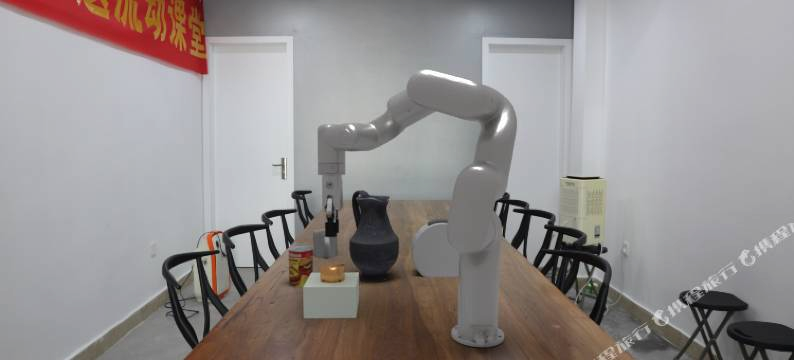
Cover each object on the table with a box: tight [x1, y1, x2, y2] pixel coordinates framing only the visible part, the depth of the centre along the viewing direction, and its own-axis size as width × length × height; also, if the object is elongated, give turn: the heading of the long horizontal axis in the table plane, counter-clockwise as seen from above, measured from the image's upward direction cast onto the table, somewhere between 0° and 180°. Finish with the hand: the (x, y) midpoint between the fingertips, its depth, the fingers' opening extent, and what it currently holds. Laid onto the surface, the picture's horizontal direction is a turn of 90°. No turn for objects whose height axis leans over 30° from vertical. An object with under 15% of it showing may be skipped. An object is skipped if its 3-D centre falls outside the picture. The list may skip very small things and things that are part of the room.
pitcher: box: [348, 189, 400, 282], centre depth 163 cm, size 17×21×30 cm
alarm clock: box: [410, 218, 460, 278], centre depth 167 cm, size 21×8×20 cm, turn 92°
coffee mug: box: [312, 228, 338, 259], centre depth 194 cm, size 13×10×10 cm
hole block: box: [302, 271, 360, 319], centre depth 131 cm, size 14×14×8 cm
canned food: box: [288, 245, 314, 288], centre depth 155 cm, size 8×8×12 cm
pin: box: [319, 261, 346, 283], centre depth 131 cm, size 7×7×12 cm
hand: (332, 234), depth 130 cm, fingers open, 4 cm apart
